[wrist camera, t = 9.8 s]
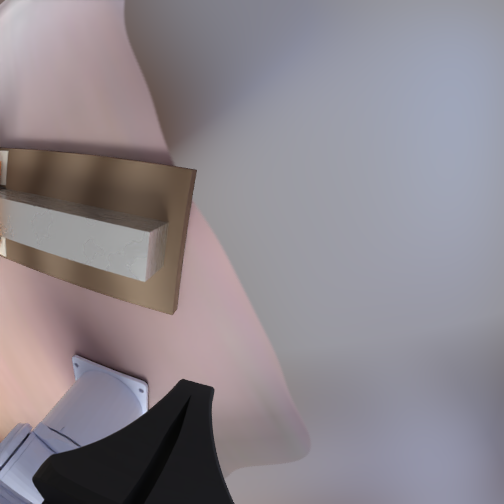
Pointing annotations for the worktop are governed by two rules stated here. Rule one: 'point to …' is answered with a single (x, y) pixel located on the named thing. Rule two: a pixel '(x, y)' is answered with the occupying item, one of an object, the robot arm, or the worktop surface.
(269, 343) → the worktop surface
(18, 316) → the worktop surface
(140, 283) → the stand
